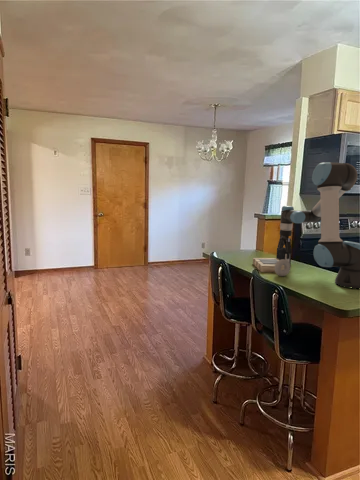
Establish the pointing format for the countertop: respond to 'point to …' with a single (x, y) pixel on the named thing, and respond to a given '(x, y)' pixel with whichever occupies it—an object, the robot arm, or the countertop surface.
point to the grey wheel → (285, 270)
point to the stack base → (266, 264)
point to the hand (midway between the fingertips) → (283, 261)
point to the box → (282, 254)
